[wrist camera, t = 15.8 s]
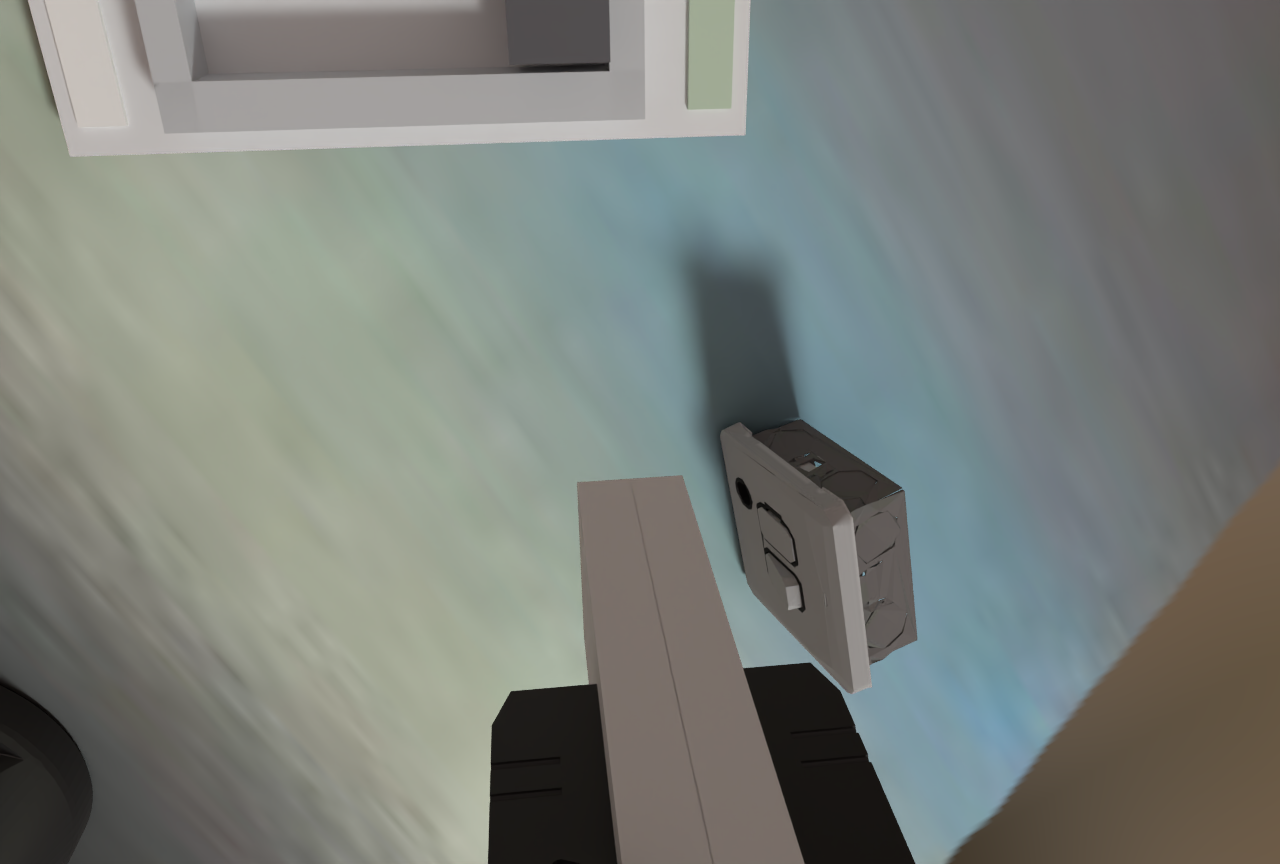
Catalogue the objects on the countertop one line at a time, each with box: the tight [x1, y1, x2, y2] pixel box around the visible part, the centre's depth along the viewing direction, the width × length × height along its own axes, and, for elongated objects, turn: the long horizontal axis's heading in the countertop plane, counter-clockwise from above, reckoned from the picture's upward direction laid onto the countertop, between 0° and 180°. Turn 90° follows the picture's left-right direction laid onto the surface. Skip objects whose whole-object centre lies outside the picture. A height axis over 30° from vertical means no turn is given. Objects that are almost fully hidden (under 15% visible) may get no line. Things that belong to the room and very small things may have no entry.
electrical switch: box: [720, 419, 917, 694], centre depth 42 cm, size 9×5×9 cm, turn 11°
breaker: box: [505, 0, 611, 65], centre depth 31 cm, size 3×3×6 cm
